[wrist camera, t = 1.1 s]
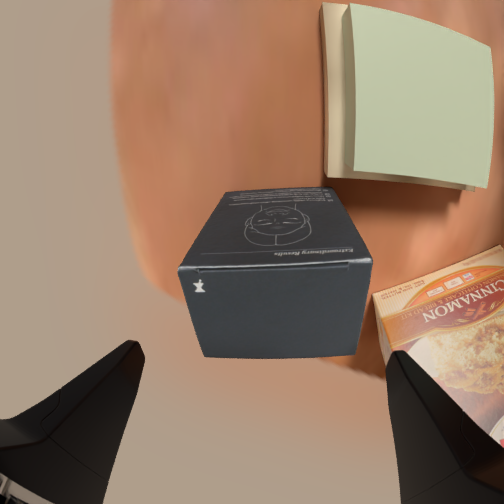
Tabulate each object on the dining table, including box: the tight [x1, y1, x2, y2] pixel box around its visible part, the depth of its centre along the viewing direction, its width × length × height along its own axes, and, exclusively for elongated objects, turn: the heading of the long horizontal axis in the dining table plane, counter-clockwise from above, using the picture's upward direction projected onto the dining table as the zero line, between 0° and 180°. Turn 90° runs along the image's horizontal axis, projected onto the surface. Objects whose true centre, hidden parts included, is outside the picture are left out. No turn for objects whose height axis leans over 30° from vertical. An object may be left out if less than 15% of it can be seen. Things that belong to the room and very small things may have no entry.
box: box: [177, 187, 373, 359], centre depth 16 cm, size 8×6×11 cm
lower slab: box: [319, 2, 475, 192], centre depth 15 cm, size 12×12×2 cm
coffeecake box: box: [372, 245, 504, 447], centre depth 14 cm, size 15×7×20 cm, turn 113°
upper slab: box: [342, 3, 494, 188], centre depth 12 cm, size 10×10×2 cm
